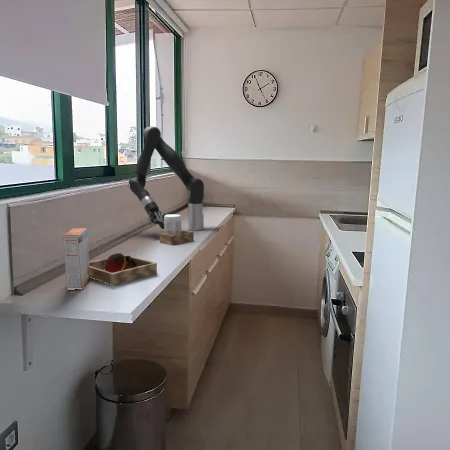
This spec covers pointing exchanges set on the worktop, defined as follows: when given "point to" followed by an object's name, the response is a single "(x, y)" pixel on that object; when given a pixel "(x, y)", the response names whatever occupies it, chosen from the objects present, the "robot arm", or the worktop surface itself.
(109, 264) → the red oval lump
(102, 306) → the worktop surface
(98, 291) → the worktop surface
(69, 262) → the cracker box
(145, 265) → the fruit corral
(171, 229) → the supplement tub
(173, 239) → the cradle
